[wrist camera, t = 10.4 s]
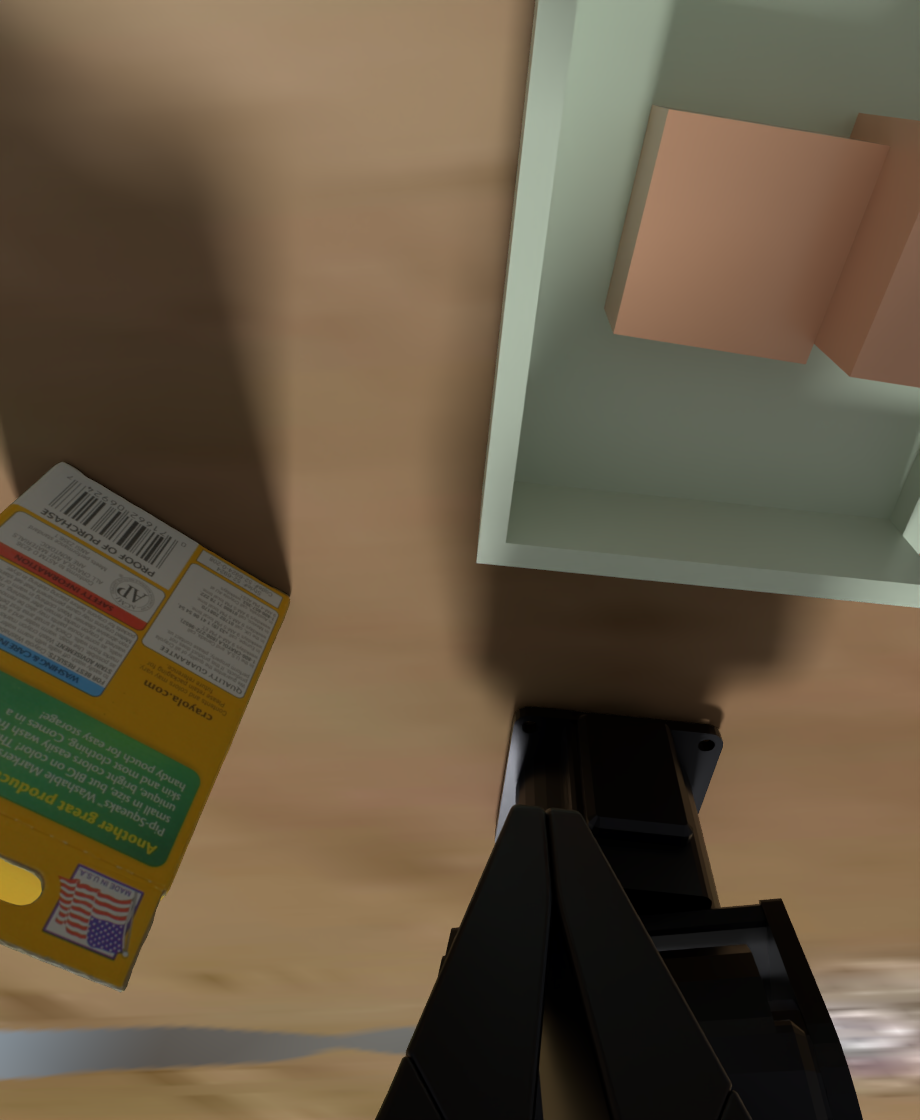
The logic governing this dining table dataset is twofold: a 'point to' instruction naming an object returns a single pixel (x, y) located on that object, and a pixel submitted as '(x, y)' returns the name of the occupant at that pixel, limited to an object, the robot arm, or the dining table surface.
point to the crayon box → (111, 714)
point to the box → (679, 370)
